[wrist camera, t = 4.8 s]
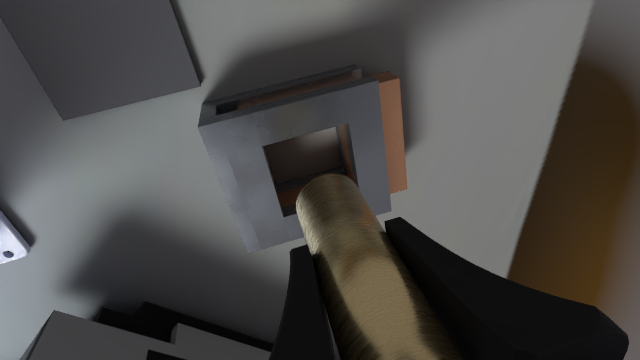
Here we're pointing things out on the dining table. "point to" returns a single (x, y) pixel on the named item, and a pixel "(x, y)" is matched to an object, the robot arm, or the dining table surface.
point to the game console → (141, 338)
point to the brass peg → (366, 279)
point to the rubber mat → (101, 51)
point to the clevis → (296, 120)
